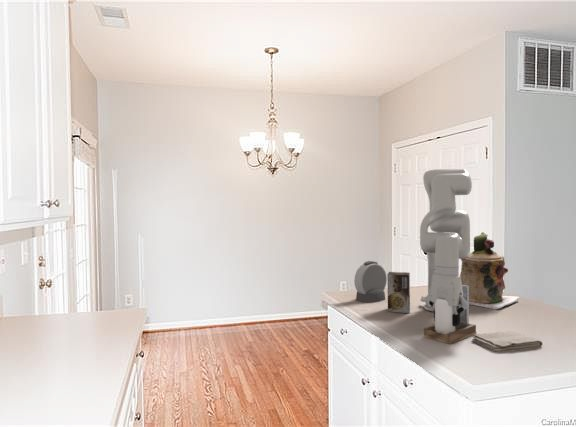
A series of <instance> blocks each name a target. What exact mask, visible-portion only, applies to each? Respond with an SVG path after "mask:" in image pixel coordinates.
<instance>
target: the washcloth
mask: <svg viewBox="0 0 576 427" xmlns="http://www.w3.org/2000/svg"><path fill="white" fill-rule="evenodd" d="M472 338H473V339H472V340H471V341H472V342H474V343H476V344H478V345H480V346H482V347H484V348H486V349H489V350H491V351H492V352H511V351H522V350H528V349H529V350H530V349H537V348H542V346H543V341H541V340H539V339H536V338H533V337H531V336H527V335H524V334H522V333H519V332H517V331H513V330H509V331H496V332H488V333H487V332H486V333H478V334H477V333H476V334H474V335H472Z"/></svg>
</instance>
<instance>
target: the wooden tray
mask: <svg viewBox="0 0 576 427" xmlns="http://www.w3.org/2000/svg"><path fill="white" fill-rule="evenodd" d="M475 334H477V324H474V323H470V322H469V326H467V327H465V328H462V329H460V330H456V329H455V331H454V332H452V333H449V334H448V335H446V334H442V333H438V332H436V331H435V323H434V324H432V325H428V326H425V327H424V328H423V337H424V338H427V339H431V340H434V341H438V342H443V343H446V344H449V345H452V344H455V343H457V342H459V341H460V342H461V341H462V340H464V339H467V338H469V337H471V336H472V337H473V335H475Z"/></svg>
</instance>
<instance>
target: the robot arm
mask: <svg viewBox="0 0 576 427" xmlns="http://www.w3.org/2000/svg"><path fill="white" fill-rule="evenodd" d="M422 178H423V185H424V188H425V191H426V194H427V196H428V201H429V211H428V212H427V213H426V214H425V215H424V217H423V218H422V220H421V223H420V226H419V245H420V249H421V251H422V252H424V253H426V257H427V295H426V296H422V295H421V297H420V302H422V303H425V304H424V306H423V308H424V309H425V310H426V311H428V312H432V313H433V321H434V322H435V302H436V300H437V297H438V298H441V299H447V300H446V301H447V303H448V305H449V306H452V307H453V311H454V314H453V315H452V325H453V326H457V325H459V323H460V313H462V312H463V311H464V310H465V309H466V308H467V307H469V308H470V304H468V302H467V301H466V300H465V299H464V297H463V289H462V282H461V277H460V273H459V272H460V271H459V270H460V269H459V268H460V264H459V262H460V260H461V259H465V258H467V257H468V256H469V254H470V253H471V221H470V217H469V214H468V212H466V211H465V210H457V204H456V196H467V195H470V193H471V191H472V189H473V188H472V187H473V186H472V184H473V182H472V178H471V176H470V173H469V172H468V171H467V170H466V169H465V168H444V169H443V168H440V169H438V168H437V169H430V170H427V171H425V172H424V174H423V177H422ZM429 228H430V230H431V232H428V231H429V230H428V229H429ZM461 304H463V305H462V307H460V306H459V305H461Z"/></svg>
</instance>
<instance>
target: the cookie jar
mask: <svg viewBox="0 0 576 427" xmlns="http://www.w3.org/2000/svg"><path fill="white" fill-rule="evenodd" d="M494 247H495V242H494V240H492V239H488V234H486V233H485V232H483V231H482V232H481V233H480V234H479V235H477V236H474V238H473V251H472V252H470V254H469V256H468V257H467V258H465V259H460V261H461V268H460V273H459V276H460V277H461V282H462V285H465V286H469V306H470V305H471V306H476V307H481V308H486V309H491V310H499V309H502V308H503V307H505V306H509V305H511V304H514V303H516V302H518V301H519V299H520V297H519V296H513V295H503V293H504V290H505V289H506V286H505V281H504V276H505V274H507V273H508V271H509V269H508V268H507V267H505V264H506V261H505V257H504V255H499V254H498V253H497V252H495V251H493V248H494Z"/></svg>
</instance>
